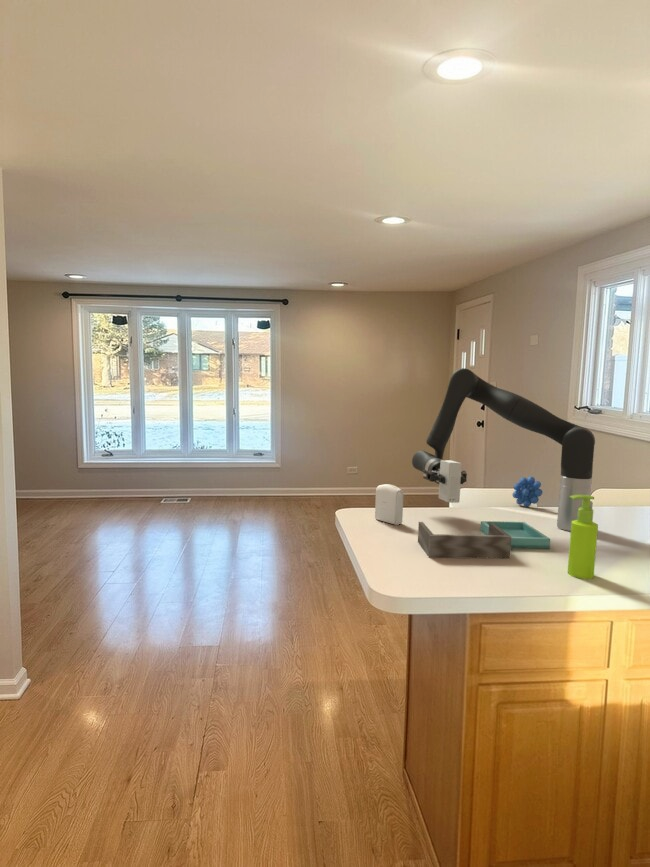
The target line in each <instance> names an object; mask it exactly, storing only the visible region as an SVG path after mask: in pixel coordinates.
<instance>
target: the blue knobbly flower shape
mask: <svg viewBox="0 0 650 867" xmlns="http://www.w3.org/2000/svg"><path fill="white" fill-rule="evenodd" d="M541 485H542V483H541V481H539V480H536V478H535V477H534V476H529V477H528V478H526V477H524V476H523V477H521V478H520V479H519V481H518V482H517V483H515V484H514V485H513V490H514V491H513V493H512V497H513V499H516V501H515V502H516V504H517V505H519V506H521V505H523V506H524V507H525V508H528V507H530V506H531V505H532V504H533V505H536V504H537V503H539V500H540V499H539V497H541V496H542V495H543V490H542V489H541Z"/></svg>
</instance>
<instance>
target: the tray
mask: <svg viewBox="0 0 650 867" xmlns="http://www.w3.org/2000/svg"><path fill="white" fill-rule="evenodd" d="M489 523H494V524H495V525H496V526H498V527H499V528H500V529H502V530H503V531H504V532H506V533H507V534H508V535H510V536H511V549H517V550H518V549H519V550H520V549H522V550H523V549H524V550H525V549H526V550H527V549H529V550H530V549H531V550H537V549H538V550H540V549H541V550H550V549H551V548H550V547H551V538H550V537H548V536H546V535H545V534H544V533H543V532H540V531H539V530H537V529H536V528H534V527H533V526H531V525H529V524H528V523H526V522H525V521H499V520H498V521H494V520H493V521H491V520H489V521H488V520H485V521H484V520H481V521H480V530H479V531H480V532H482V533H483V535H488V533H489Z"/></svg>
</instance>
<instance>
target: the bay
mask: <svg viewBox="0 0 650 867" xmlns="http://www.w3.org/2000/svg"><path fill="white" fill-rule="evenodd" d="M417 543H418V545H419V546H420V548H421V549H422V550H423V551H424V552H425V555H426V556H427V557H428V558H433V559H434V558H435V559H436V558H438V559H439V558H440V559H442V558H445V557H446V558H445V559H451V558H452V559H511V549H512V548H511V536H510V535H508V534H507V533H506V532H504V531H503V530H502V529H500V528H499V527H498V526H496V525H495V524H494V523H489V533H488V535H485V534H447V533H446V534H445V533H444V534H438V533H436V534H435V533H433V532H432V531H431V529H430V528H428V525H426V523H425V522H423V521H418V530H417Z"/></svg>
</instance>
